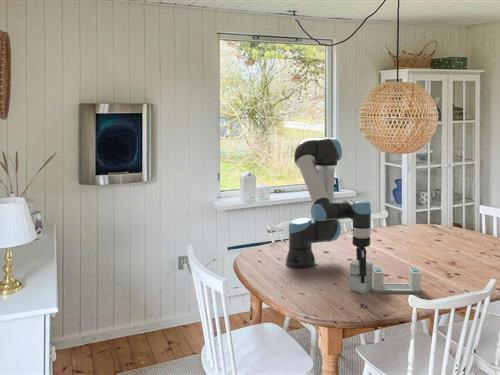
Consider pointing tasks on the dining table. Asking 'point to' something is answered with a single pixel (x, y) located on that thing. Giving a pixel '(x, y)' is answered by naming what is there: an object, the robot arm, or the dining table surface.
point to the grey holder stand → (409, 287)
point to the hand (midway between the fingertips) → (360, 284)
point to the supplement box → (355, 278)
